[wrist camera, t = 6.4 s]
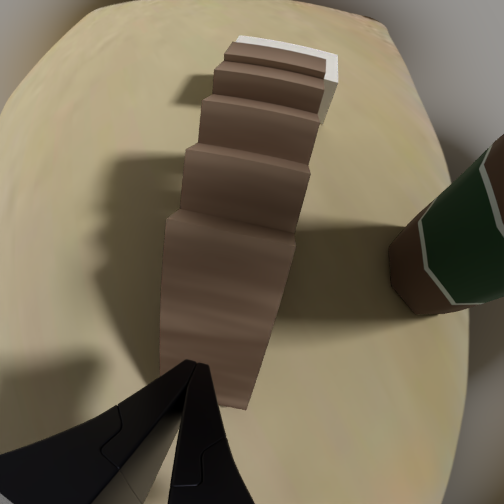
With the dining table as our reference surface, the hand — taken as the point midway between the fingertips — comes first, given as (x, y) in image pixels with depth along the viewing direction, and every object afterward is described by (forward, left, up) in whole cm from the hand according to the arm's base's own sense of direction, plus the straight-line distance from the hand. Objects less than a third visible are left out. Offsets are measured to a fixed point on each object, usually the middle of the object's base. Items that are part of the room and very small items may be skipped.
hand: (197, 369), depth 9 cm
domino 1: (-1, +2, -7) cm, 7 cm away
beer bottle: (-11, -13, -8) cm, 19 cm away
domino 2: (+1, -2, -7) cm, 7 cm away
